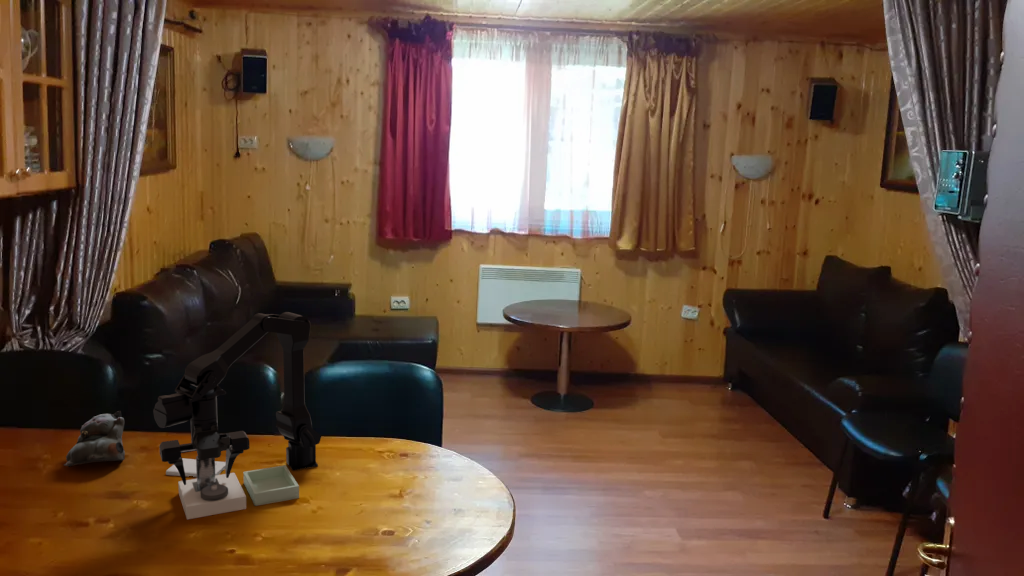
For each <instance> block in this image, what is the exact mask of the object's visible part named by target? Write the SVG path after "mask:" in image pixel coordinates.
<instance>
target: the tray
mask: <svg viewBox="0 0 1024 576" xmlns="http://www.w3.org/2000/svg"><path fill="white" fill-rule="evenodd" d="M242 473H243V485H244V486H245V487H244V488H245V489H246V491H247V493H248V494H249V497H250V499H251V501H252V503H253V506H254V507H257V506H263V505H268V504H272V503H273V504H274V503H279V502H285V501H289V500H296V499H299V498H300V485H299V484H298V482H297V481H296V479H295V477H294V476H293V475H292V473H291V472H290V470H289V468H288V467H287V465H286V464H284V465H283V464H282V465H278V466H272V467H265V468H260V469H259V468H258V469H253V470H246V471H243V472H242Z"/></svg>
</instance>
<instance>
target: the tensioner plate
mask: <svg viewBox="0 0 1024 576" xmlns="http://www.w3.org/2000/svg"><path fill="white" fill-rule="evenodd" d="M215 480H216V484H215V485H209V486H207V487H205V488H203V489H202V490H201V491H198V492H197V478H191V479H186V485H184V483H183V481H182V480H180V481H179V480H178V484H177V485H178V495H179V498H180V502H181V504H182V508H183V511H184V514H185V518H186V520H192V519H197V518H203V517H209V516H212V515H218V514H225V513H230V512H237V511H240V510H241V511H242V510H246V509H247V495H246V494H245V493H246V492H245V491H244V489H243V487H242V485H241V483H240V482H239V479H238V477H237V475H236V473H235V472H230V475H229V478H226V473H222V474H219V475H216V476H215Z"/></svg>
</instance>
